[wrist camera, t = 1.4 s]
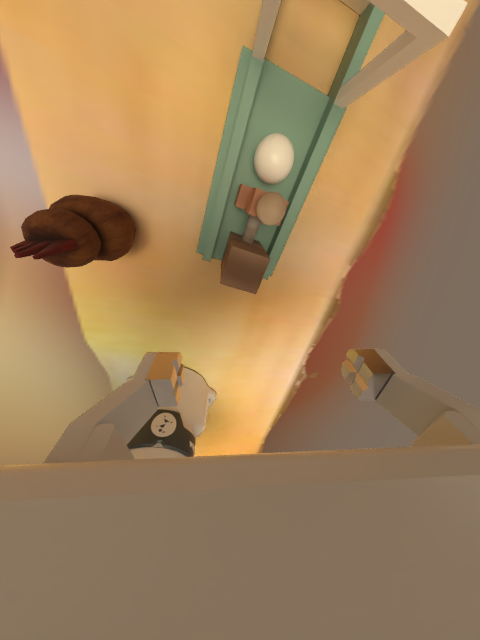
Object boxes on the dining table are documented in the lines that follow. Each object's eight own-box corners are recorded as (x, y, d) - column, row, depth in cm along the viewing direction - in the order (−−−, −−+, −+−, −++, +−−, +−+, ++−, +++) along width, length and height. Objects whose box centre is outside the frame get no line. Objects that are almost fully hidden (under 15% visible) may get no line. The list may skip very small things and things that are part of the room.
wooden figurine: (145, 210, 24) (62, 232, 12) (140, 254, 27) (68, 310, 15) (84, 186, 23) (-89, 183, 10) (85, 236, 26) (-49, 281, 13)
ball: (278, 190, 23) (287, 190, 20) (246, 176, 22) (250, 173, 19) (294, 147, 21) (307, 140, 18) (260, 130, 20) (267, 119, 17)
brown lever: (252, 271, 28) (263, 306, 20) (218, 260, 27) (214, 292, 19) (280, 199, 23) (310, 205, 15) (240, 182, 22) (248, 178, 14)
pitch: (269, 273, 30) (296, 325, 19) (197, 250, 27) (177, 293, 16) (386, 10, 17) (685, -322, 6) (271, -78, 15) (417, -934, 3)
